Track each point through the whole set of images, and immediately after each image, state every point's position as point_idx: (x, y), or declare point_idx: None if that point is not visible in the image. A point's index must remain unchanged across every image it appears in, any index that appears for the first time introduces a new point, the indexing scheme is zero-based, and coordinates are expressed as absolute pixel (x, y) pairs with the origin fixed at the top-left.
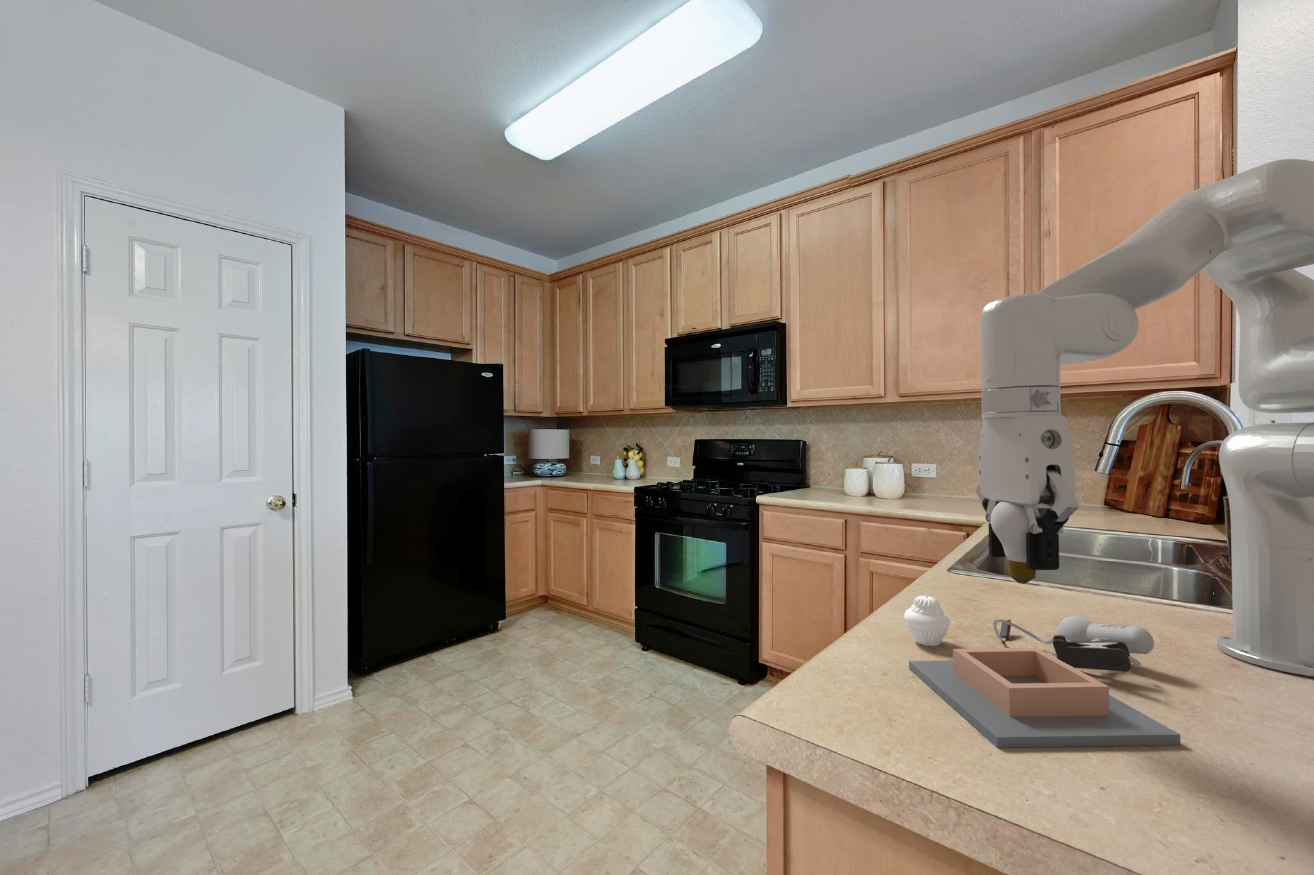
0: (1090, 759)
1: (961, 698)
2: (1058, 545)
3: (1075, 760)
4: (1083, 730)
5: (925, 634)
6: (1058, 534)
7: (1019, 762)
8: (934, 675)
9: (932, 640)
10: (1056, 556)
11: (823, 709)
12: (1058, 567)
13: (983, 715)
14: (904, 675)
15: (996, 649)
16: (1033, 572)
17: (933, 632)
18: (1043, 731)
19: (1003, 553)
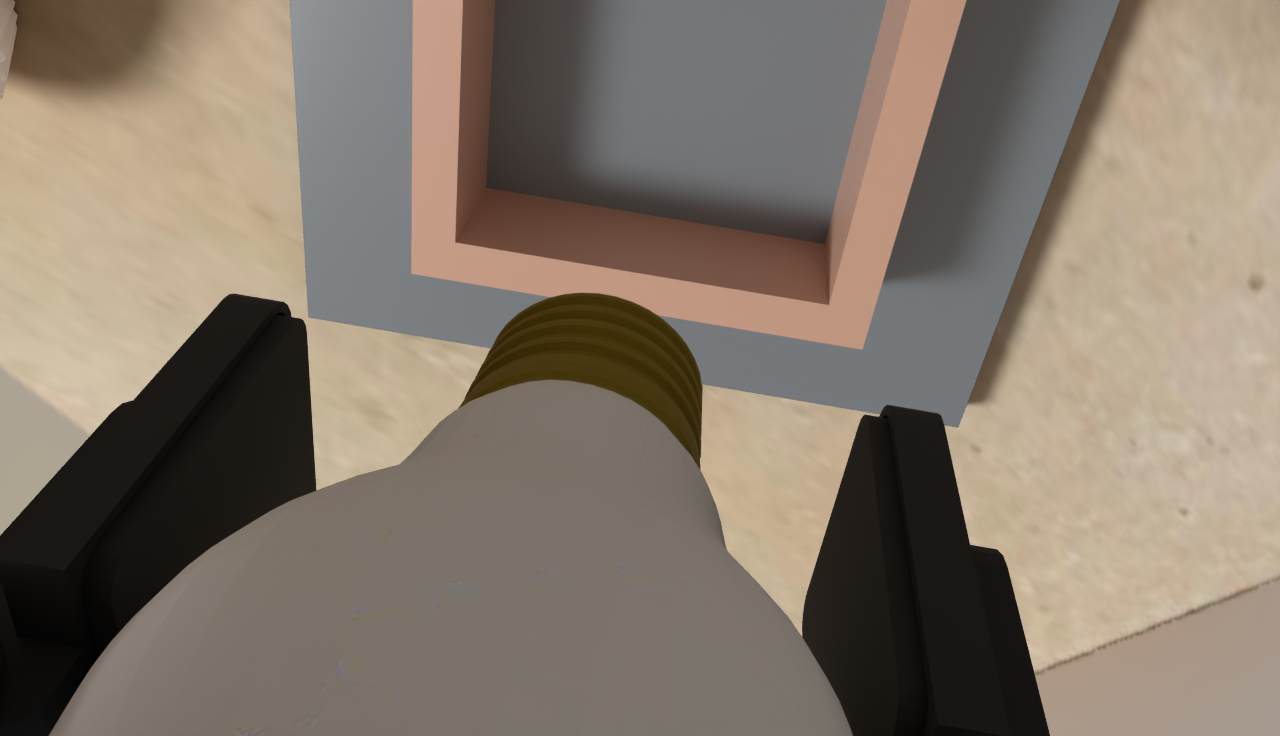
0: (1130, 171)
1: None
2: (975, 592)
3: (1111, 228)
4: (1040, 94)
5: (1, 88)
6: (1003, 716)
7: (1043, 403)
8: (465, 310)
9: (11, 33)
10: (1007, 580)
11: None
12: (934, 415)
13: (820, 367)
14: (388, 353)
15: (429, 53)
16: (698, 407)
17: (2, 61)
18: (984, 251)
19: (301, 463)
